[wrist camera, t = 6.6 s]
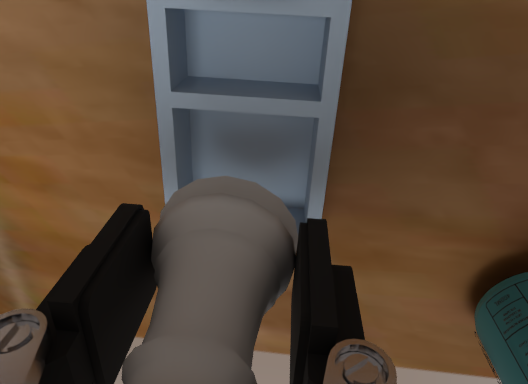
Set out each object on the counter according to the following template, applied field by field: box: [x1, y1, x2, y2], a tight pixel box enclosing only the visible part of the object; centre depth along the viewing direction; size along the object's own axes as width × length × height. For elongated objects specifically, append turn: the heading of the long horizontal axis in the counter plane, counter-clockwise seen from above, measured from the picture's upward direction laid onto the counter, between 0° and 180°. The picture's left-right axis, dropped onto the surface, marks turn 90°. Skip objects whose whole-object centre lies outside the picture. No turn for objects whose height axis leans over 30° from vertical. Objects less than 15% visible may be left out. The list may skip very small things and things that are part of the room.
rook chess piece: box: [122, 176, 298, 384], centre depth 9 cm, size 4×4×8 cm
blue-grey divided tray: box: [146, 0, 352, 234], centre depth 14 cm, size 7×18×10 cm, turn 178°
